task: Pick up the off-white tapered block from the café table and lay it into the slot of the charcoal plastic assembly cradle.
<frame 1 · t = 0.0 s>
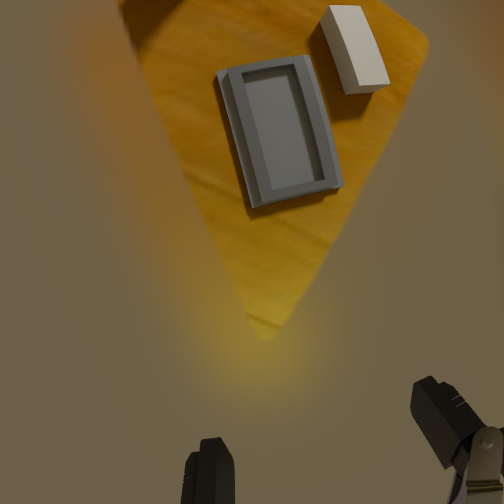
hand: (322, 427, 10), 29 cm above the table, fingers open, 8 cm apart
cradle: (281, 127, 34), on the table
off-white tapered block: (347, 55, 31), on the table
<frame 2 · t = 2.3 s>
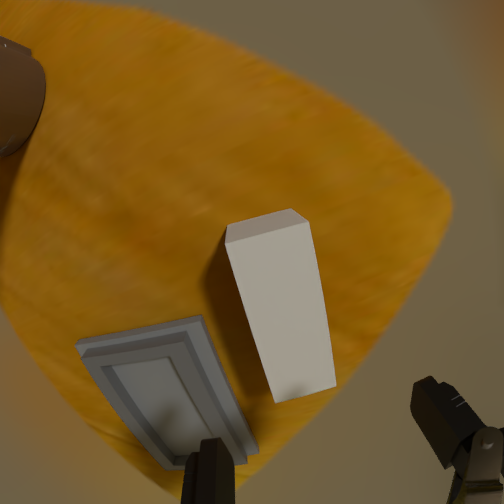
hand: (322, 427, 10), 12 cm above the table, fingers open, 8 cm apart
cradle: (174, 405, 24), on the table
off-white tapered block: (279, 294, 22), on the table
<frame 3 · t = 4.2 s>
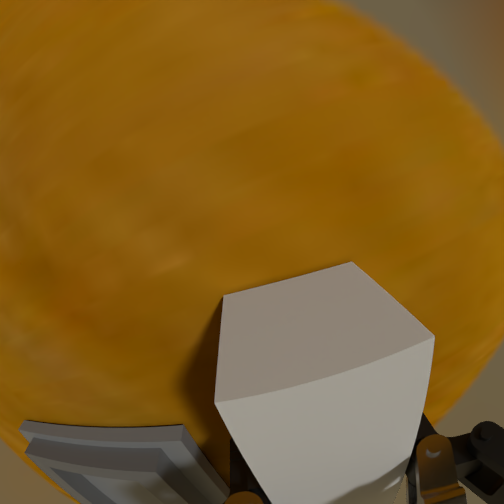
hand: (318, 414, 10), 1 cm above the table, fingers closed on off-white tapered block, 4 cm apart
cradle: (157, 499, 14), on the table
off-white tapered block: (314, 400, 11), on the table, touching gripper
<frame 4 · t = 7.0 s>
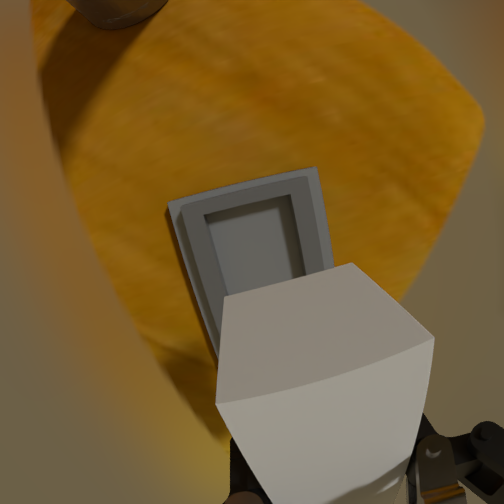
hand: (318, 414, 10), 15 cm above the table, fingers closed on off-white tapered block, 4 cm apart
cradle: (266, 284, 25), on the table
off-white tapered block: (314, 400, 11), point 15 cm above the table, touching gripper
when the fingers open (4 cm above the table, at t = 10.1 s): off-white tapered block drops 2 cm, resting on cradle.
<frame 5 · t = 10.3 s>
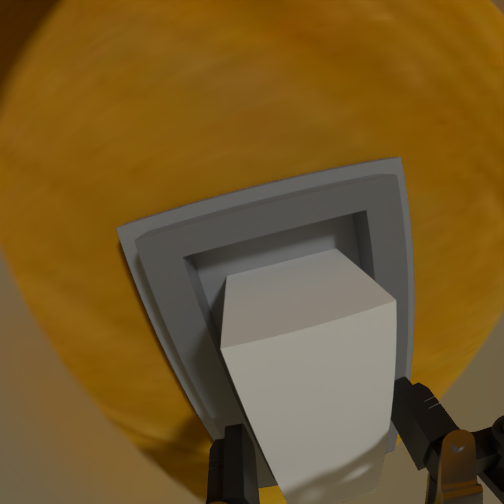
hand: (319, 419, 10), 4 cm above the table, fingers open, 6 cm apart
cradle: (301, 362, 14), on the table
off-white tapered block: (306, 375, 13), point 1 cm above the table, touching cradle
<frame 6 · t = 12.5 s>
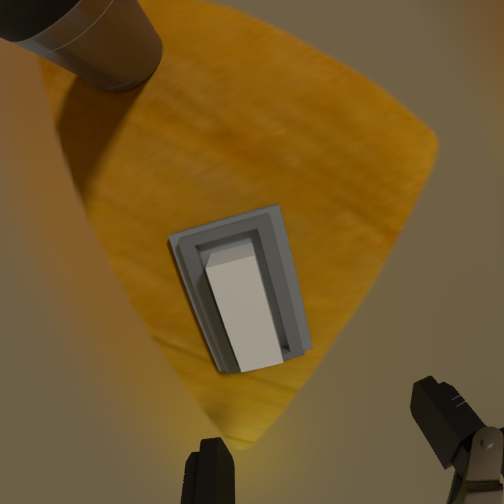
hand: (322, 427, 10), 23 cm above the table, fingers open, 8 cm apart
cradle: (245, 295, 33), on the table
off-white tapered block: (246, 299, 32), point 1 cm above the table, touching cradle
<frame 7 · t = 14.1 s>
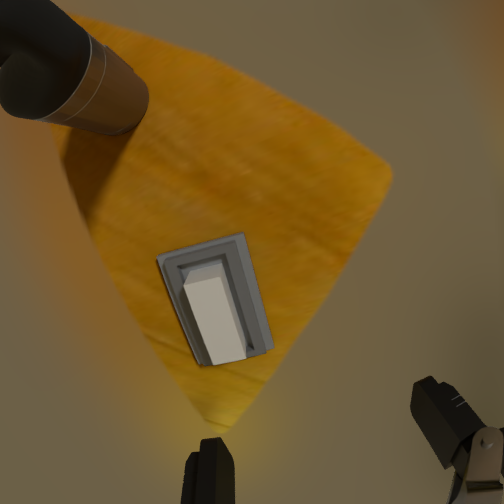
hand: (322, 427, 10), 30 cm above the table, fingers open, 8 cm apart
cradle: (218, 303, 41), on the table
off-white tapered block: (218, 306, 40), point 1 cm above the table, touching cradle
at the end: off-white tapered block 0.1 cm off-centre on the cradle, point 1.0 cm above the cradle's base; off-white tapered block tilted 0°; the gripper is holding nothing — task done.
